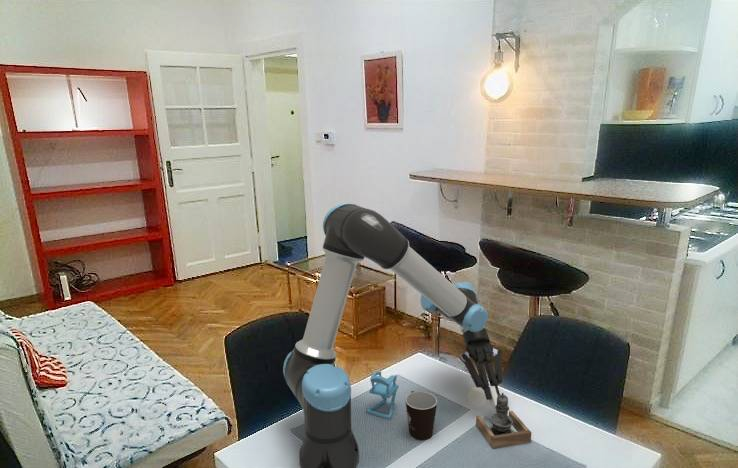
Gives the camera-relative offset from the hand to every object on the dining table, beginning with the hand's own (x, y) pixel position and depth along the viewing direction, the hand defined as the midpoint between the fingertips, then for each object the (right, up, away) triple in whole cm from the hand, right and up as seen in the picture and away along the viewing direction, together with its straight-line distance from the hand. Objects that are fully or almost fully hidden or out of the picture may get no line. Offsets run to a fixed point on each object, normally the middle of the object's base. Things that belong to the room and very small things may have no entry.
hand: (497, 411), depth 126 cm
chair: (-31, -3, +10) cm, 33 cm away
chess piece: (+1, -5, -2) cm, 5 cm away
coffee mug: (-21, -5, 0) cm, 22 cm away
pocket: (+1, -5, -2) cm, 6 cm away
